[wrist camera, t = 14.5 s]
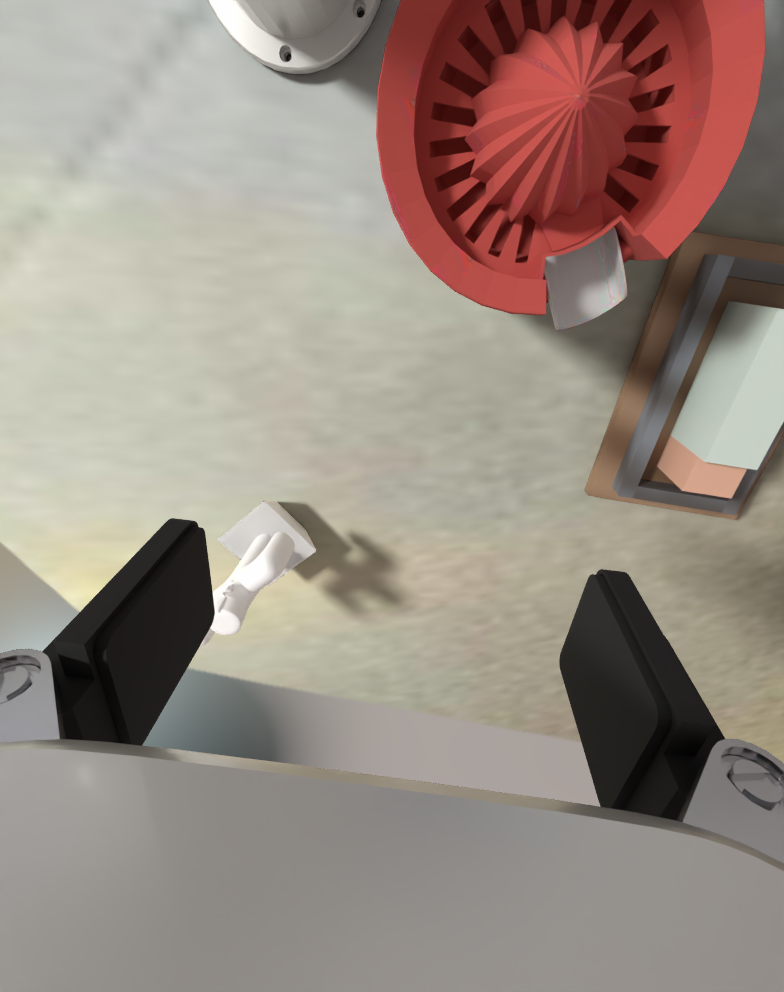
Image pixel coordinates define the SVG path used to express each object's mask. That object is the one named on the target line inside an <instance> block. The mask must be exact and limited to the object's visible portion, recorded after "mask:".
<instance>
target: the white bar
mask: <svg viewBox="0 0 784 992" xmlns="http://www.w3.org/2000/svg"><path fill="white" fill-rule="evenodd" d="M783 422H784V309H779V308H773V307H766V306H759V305H753V304H746V303H740V302H733V301H728V303H727V306H726V308H725V310H724V312H723V315H722V317H721V319H720V322H719V324H718V326H717V329H716V331H715V333H714V335H713V338H712V340H711V342H710V345H709V347H708V349H707V352H706V354H705V356H704V358H703V361H702V363H701V365H700V368H699V370H698V372H697V375H696V377H695V379H694V382H693V384H692V386H691V388H690V391H689V393H688V395H687V398H686V400H685V402H684V405H683V407H682V409H681V411H680V414H679V416H678V418H677V421H676V423H675V425H674V428H673V430H672V432H671V435H670V437H669V439H668V441H667V444H666V446H665V448H664V451H663V453H662V455H661V458H660V460H659V462H658V464H657V467H658V468H659V469H660V470H661V471H662V472H663V473H664V474H665V475H666V476H667V477H668V478H669V479H670V480H672V481H673V482H674V483H675V484H676V485H677V486H678V487H679V488H680V489H681V490H682V491H687V492H693V493H700V494H706V495H712V496H718V497H725V498H732V497H733V495H734V493H735V491H736V489H737V487H738V485H739V483H740V482H741V480H742V478H743V476H744V474H745V472H746V470H747V469H753V470H757V469H758V468H759V466H760V464H761V462H762V460H763V458H764V457H765V455H766V453H767V451H768V449H769V447H770V446H771V444H772V442H773V440H774V438H775V436H776V435H777V433H778V431H779V429H780V427H781V425H782V424H783Z"/></svg>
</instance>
